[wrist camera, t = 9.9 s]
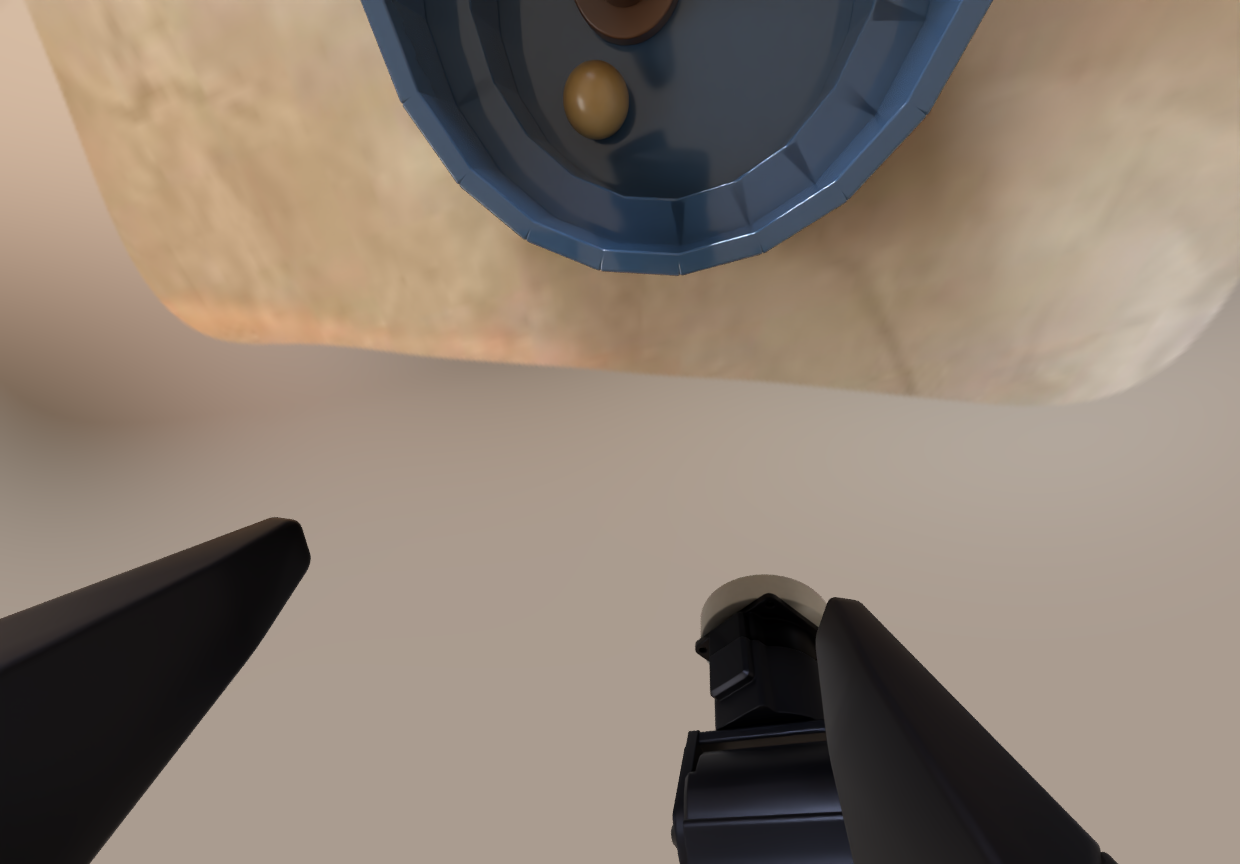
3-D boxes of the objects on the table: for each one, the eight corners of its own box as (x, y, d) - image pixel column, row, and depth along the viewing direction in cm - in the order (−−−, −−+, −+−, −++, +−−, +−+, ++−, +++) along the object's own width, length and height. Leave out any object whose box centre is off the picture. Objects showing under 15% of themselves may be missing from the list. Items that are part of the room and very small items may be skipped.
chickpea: (645, 98, 15) (638, 86, 13) (607, 156, 16) (596, 152, 14) (595, 52, 15) (581, 33, 13) (559, 113, 16) (542, 104, 14)
